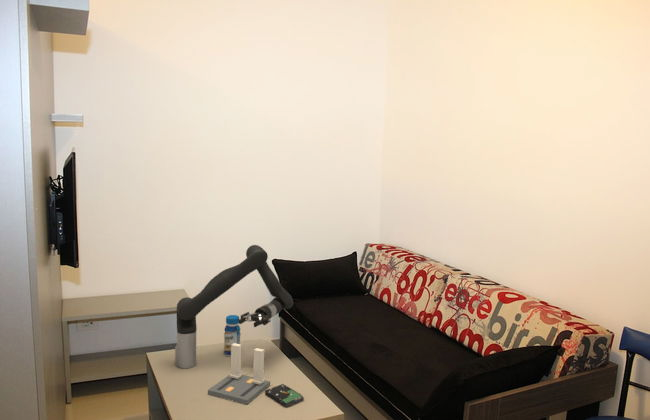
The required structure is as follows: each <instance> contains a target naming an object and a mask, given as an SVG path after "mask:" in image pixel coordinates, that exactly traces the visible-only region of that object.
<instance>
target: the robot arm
mask: <svg viewBox="0 0 650 420" xmlns="http://www.w3.org/2000/svg"><path fill="white" fill-rule="evenodd" d="M245 254H246V255H245V256H246V258H245V259H244V260H243V261H241V262H240V263H239V264H236V265H234V266H230V267H228V268H226V269H224V270H222V271H220V272H219V273H218V274H216V275H215V276H214V277H213V278H211V279H210V280H209V281H208V282H207V284H206V285H205V286H204V287H203V289H201V291H200V292H199V293H197V294H196V295H195V296H193V297H192V298H191V297H188V296H187V297H183V298H181V299H180V300H178V302H177V304H176V345H175V346H174V348H175V349H174V350H175V351H174V355H175V356H174V365H176V366H177V367H178V368H180V369H191V368H193V367H195V366H196V365H197V327H198V326H197V316H198V315H199V313H201V312H202V311H203V310H204V309H205V308H206V307H207V306H209V305H210V304H211V303H213V302H214V301H215V300H217V299H218V298H220V297H221V296H222V295H223V294H225V293H226V292H227V291H229V290H230V289H232V287H234V286H235V285H236V284H237V283H239V282H240V281H242V280H243V279H244V278H246V277H247V276H248V275H250V274H251V273H253V272H255V271H257V272H258V274H259V277H261V279H262V281H263V283H264V285H265V287H266V289H267V290H268V292H269V294H270V295H271V296H272V297H273V299H272V300H271V301H270V302H268V303H265V304H263V305H261V306H260V307H258V308H256V309H255V311H254V312H253V313H250V312H249V311H247V312H245V313H243V314H241V315H240V318H239V324H238V325H242V324H244V323H245V322H246V323H247V322H248V323H250V322H253V328H257V327H259V326H262V325H263V326H266V325H268V324H269V323H271V319H273V317H275V316H277V315H278V314H279V313H280V312H281V311H282V310H287V309H291V308H292V307H293V305H294V299H293V297H292V295H291V294H290V292H288V291H287V290H286V289H285V288H284V287H283V286H282V284H281V282H280V280H279V279H278V277H277V276H276V274H275V273H274V271H273V270H272V269H271V267H270V266H269V264H268V262H267V261H268V259H269V256H268V252H267V251H266V250H265V249H264V248H263V247H261V246H260V245H259V244H252V245H249V247H247V249H246V252H245Z"/></svg>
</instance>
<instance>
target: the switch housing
mask: <svg viewBox="0 0 650 420" xmlns="http://www.w3.org/2000/svg"><path fill="white" fill-rule="evenodd" d="M252 380H253V376H249V375H246V374H242V376H241V377H240V378H239V379H235V378H231V377H230V374H228V375H227V376H225V377H224V378H222V380H221V379H220V381H218V382H216V384H214V385H213V386H212V387H209V389H207V394H208V395H209V396H210V395H211V396H213V397H217V398H220V397H221V398H220V399H224V398H226V399H225V400H228V399H229V401H231V400H233V401H232V402H235V401H236V402H235V403H239V404H242V403H243V405H249V404H250V403H251V402H252V401H253V400H254V399H256V398H257V397H258V396H260V395H261V394H262V393H263V392H265V390H267V389H269V387H270V386H271V381H270V380H266V379H264V382H263V383H262V384H261V385H259V384H255V383H252Z"/></svg>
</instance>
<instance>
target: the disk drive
mask: <svg viewBox="0 0 650 420" xmlns="http://www.w3.org/2000/svg"><path fill="white" fill-rule="evenodd" d="M264 395H265V397H267V398H268V399H271V400H272V401H274V402H275V403H276V404H279V405H280V406H282V407H283V408H285V409H286V408H289V407H291V406H294V405H297V404H299V403H301V402H304V401H305V398H304V396H303V395H302V394H301V393H300V392H297V391H296V390H294V389H292V388H290V386H288V385H286V384H284V383H282V384H279V385H277V386H273V387H272V388H271V389H270V388H267V389H265V390H264Z"/></svg>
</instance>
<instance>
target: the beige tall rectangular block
mask: <svg viewBox="0 0 650 420" xmlns="http://www.w3.org/2000/svg"><path fill="white" fill-rule="evenodd" d="M252 371H253V373H252V375H253V376H252V377H253V380H252V383H255V384H259V385H261V384H262V383H263V382H264V380H265V379H264V377H265V376H264V374H265V373H264V371H265V349H264V348H257V347H256V348H255V349H253V369H252Z"/></svg>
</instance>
